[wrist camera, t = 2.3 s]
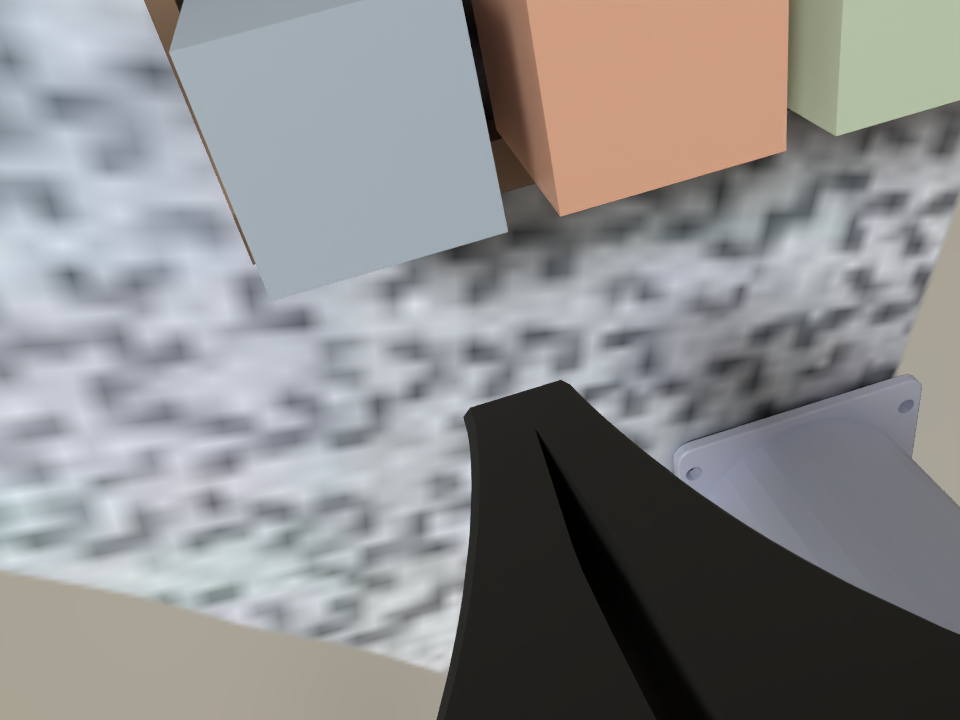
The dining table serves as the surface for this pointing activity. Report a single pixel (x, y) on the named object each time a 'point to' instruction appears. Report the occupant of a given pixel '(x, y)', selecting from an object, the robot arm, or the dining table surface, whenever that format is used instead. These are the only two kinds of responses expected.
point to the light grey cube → (341, 131)
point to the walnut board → (165, 13)
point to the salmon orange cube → (634, 90)
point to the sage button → (871, 60)
